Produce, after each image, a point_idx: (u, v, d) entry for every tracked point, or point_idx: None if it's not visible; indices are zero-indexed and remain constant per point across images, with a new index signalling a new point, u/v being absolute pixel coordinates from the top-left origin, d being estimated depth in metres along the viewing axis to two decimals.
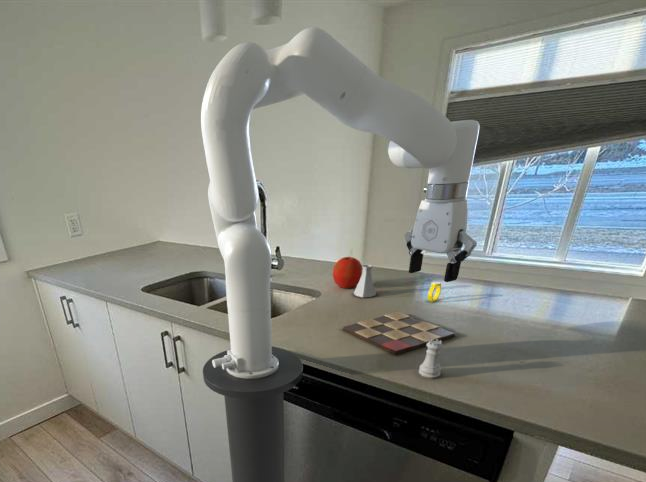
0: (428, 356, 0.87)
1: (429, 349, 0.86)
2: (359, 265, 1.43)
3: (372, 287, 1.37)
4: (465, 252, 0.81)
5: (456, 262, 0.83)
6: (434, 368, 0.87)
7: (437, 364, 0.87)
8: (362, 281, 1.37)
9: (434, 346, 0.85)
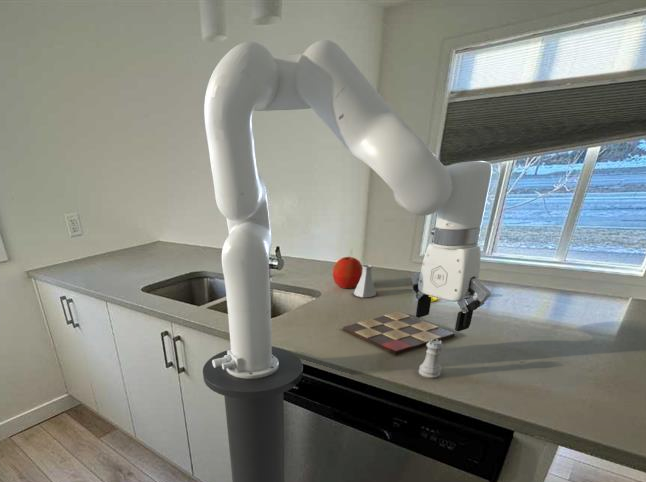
0: (428, 356, 0.87)
1: (429, 349, 0.86)
2: (359, 265, 1.43)
3: (372, 287, 1.37)
4: (478, 302, 0.74)
5: (468, 311, 0.77)
6: (434, 368, 0.87)
7: (437, 364, 0.87)
8: (362, 281, 1.37)
9: (434, 346, 0.85)
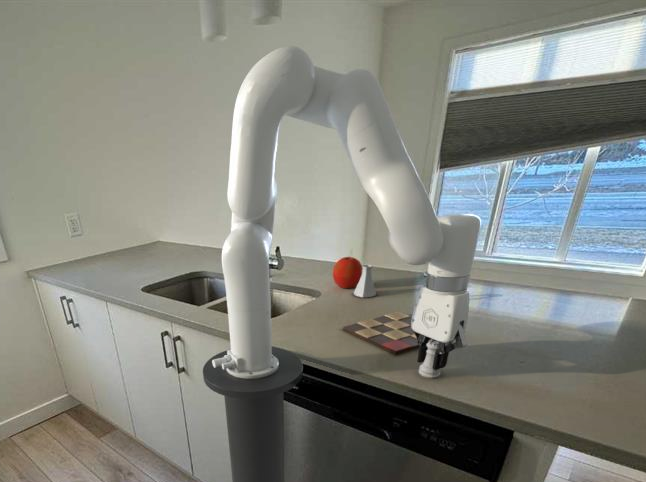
0: (428, 356, 0.87)
1: (429, 349, 0.86)
2: (359, 265, 1.43)
3: (372, 287, 1.37)
4: (453, 345, 0.81)
5: (444, 353, 0.84)
6: None
7: None
8: (362, 281, 1.37)
9: (434, 346, 0.85)
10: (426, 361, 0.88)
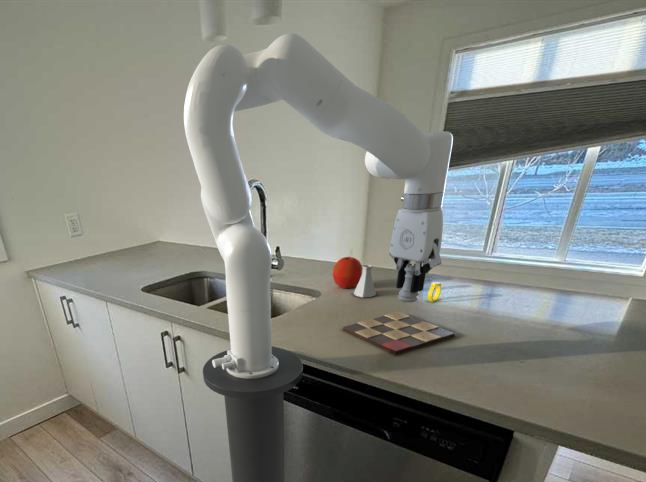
0: (406, 280, 0.91)
1: (407, 273, 0.90)
2: (359, 265, 1.43)
3: (372, 287, 1.37)
4: (428, 265, 0.85)
5: (420, 274, 0.87)
6: None
7: None
8: (362, 281, 1.37)
9: (411, 269, 0.89)
10: (404, 285, 0.91)
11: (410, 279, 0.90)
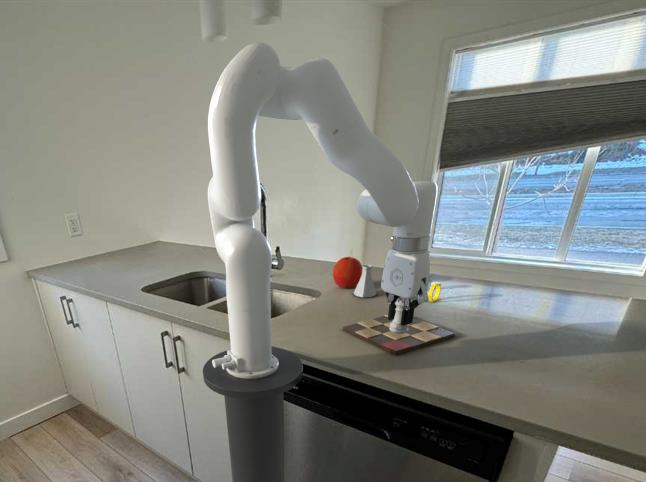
0: (397, 313, 0.97)
1: (397, 307, 0.96)
2: (359, 265, 1.43)
3: (372, 287, 1.37)
4: (416, 301, 0.91)
5: (410, 309, 0.93)
6: None
7: None
8: (362, 281, 1.37)
9: (401, 304, 0.95)
10: (395, 318, 0.98)
11: (400, 313, 0.96)
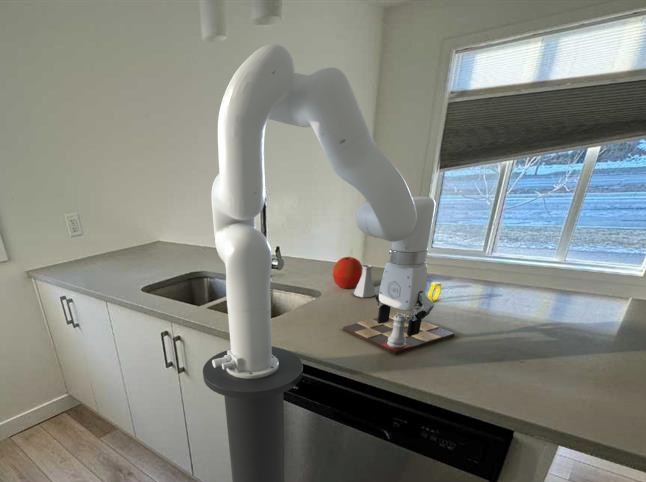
0: (394, 328, 0.99)
1: (395, 322, 0.98)
2: (359, 265, 1.43)
3: (372, 287, 1.37)
4: (424, 312, 0.90)
5: (417, 319, 0.92)
6: (399, 339, 0.99)
7: (402, 335, 0.99)
8: (362, 281, 1.37)
9: (399, 319, 0.97)
10: (393, 333, 0.99)
11: (398, 328, 0.98)
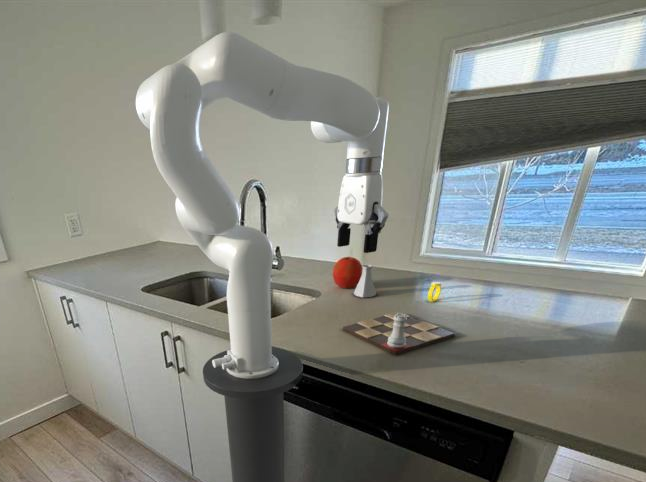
0: (394, 328, 0.99)
1: (395, 322, 0.98)
2: (359, 265, 1.43)
3: (372, 287, 1.37)
4: (379, 223, 0.86)
5: (372, 233, 0.89)
6: (399, 339, 0.99)
7: (402, 335, 0.99)
8: (362, 281, 1.37)
9: (399, 319, 0.97)
10: (393, 333, 0.99)
11: (398, 328, 0.98)
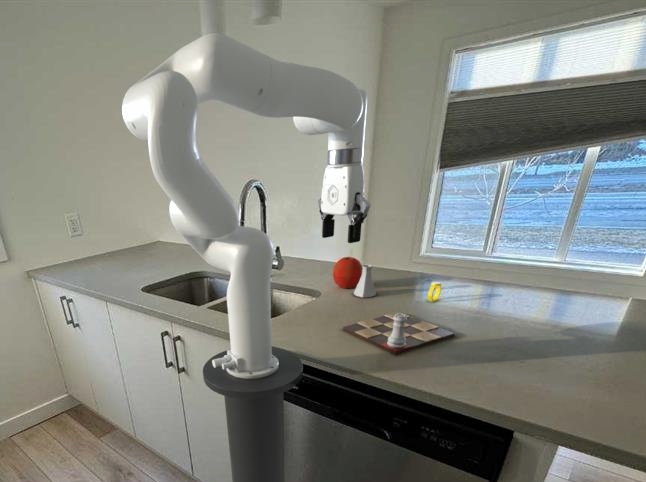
0: (394, 328, 0.99)
1: (395, 322, 0.98)
2: (359, 265, 1.43)
3: (372, 287, 1.37)
4: (361, 213, 0.88)
5: (355, 223, 0.90)
6: (399, 339, 0.99)
7: (402, 335, 0.99)
8: (362, 281, 1.37)
9: (399, 319, 0.97)
10: (393, 333, 0.99)
11: (398, 328, 0.98)
